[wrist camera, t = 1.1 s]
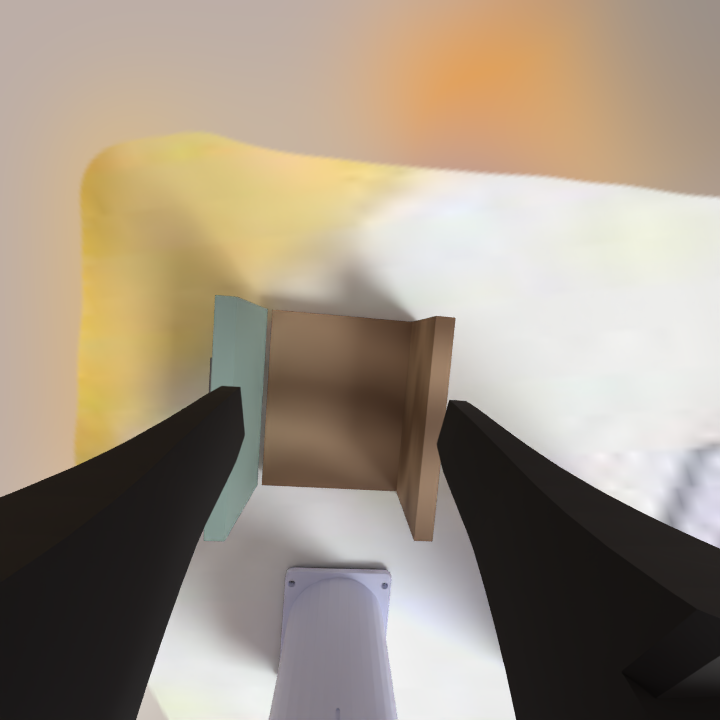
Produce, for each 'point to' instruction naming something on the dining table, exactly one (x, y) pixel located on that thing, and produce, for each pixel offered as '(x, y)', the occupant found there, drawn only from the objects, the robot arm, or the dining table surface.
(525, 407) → the dining table surface
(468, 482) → the robot arm
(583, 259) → the dining table surface
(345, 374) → the cart bed
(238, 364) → the panel
